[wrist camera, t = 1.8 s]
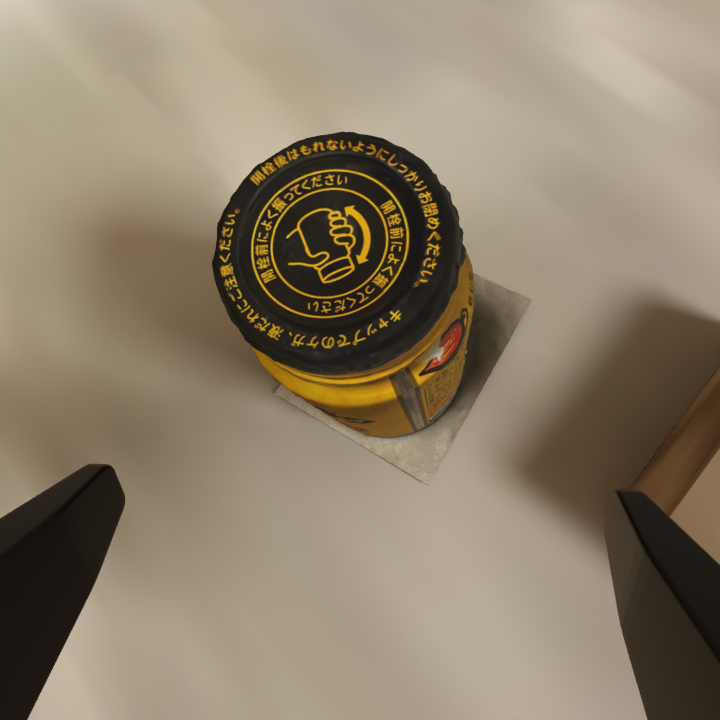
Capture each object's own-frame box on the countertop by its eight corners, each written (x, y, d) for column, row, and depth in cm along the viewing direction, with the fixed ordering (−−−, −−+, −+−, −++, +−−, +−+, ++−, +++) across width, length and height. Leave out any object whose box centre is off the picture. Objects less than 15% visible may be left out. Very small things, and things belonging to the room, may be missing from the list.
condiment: (275, 394, 23) (106, 301, 11) (376, 228, 24) (318, -14, 12) (428, 485, 21) (415, 488, 10) (530, 302, 22) (630, 103, 11)
